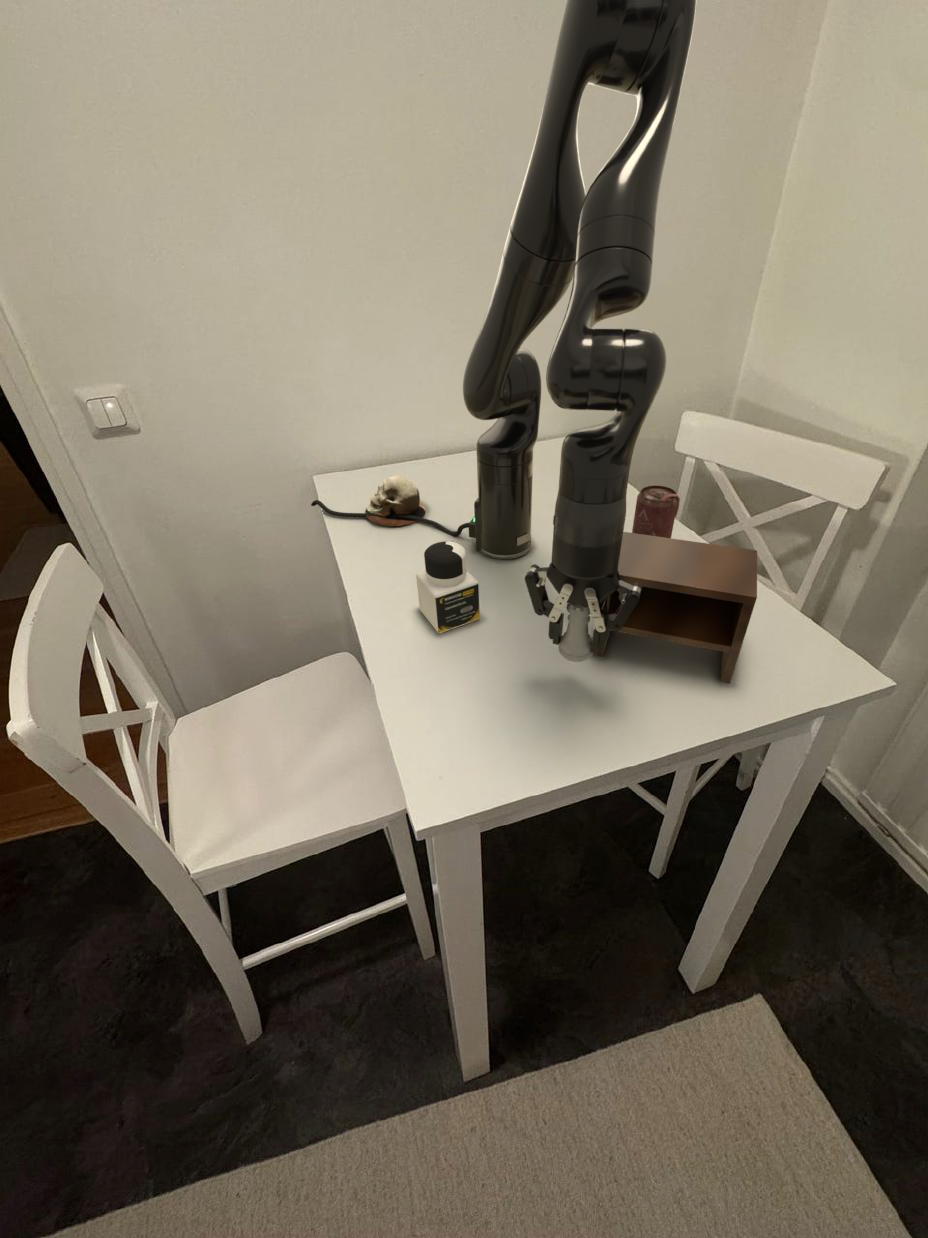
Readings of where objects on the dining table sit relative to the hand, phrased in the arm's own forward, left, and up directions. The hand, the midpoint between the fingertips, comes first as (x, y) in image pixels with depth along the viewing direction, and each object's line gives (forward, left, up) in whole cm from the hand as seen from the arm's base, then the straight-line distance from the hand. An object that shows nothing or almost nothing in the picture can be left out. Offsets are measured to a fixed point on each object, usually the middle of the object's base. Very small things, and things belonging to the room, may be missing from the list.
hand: (575, 644), depth 77 cm
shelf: (+11, +12, -7) cm, 17 cm away
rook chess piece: (0, 0, -1) cm, 1 cm away
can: (+6, +31, -7) cm, 32 cm away
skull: (-44, +37, -7) cm, 58 cm away
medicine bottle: (-21, +9, -7) cm, 24 cm away
